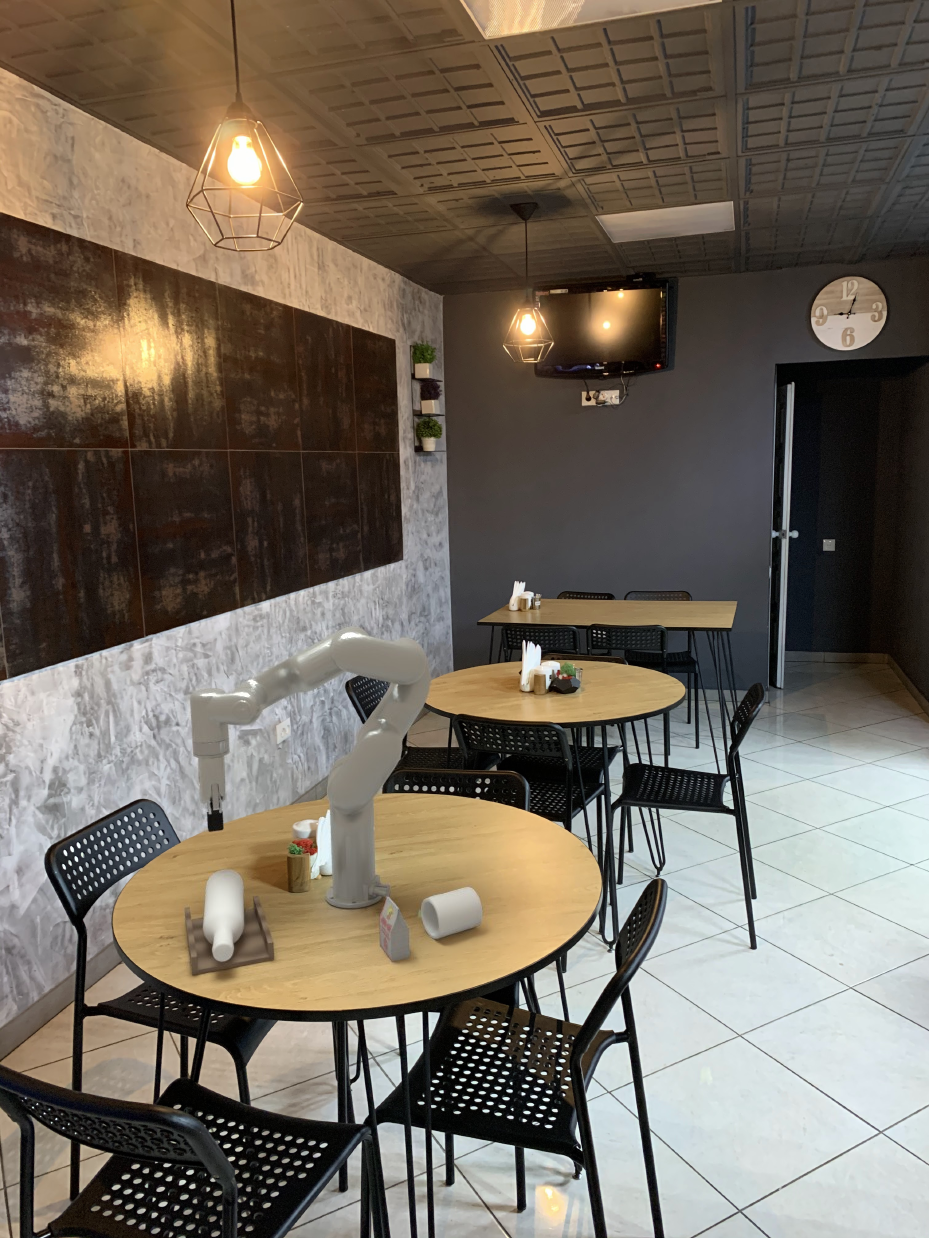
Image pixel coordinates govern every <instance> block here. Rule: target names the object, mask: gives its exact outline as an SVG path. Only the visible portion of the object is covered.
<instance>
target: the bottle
mask: <svg viewBox="0 0 929 1238" xmlns="http://www.w3.org/2000/svg"><path fill="white" fill-rule="evenodd" d="M244 891H245V887H244V882H243V879H242V877H241V875H240V874H239V873H238V872H236V871H235V870H232V869H229V868H227V869H220V870H217V871H216V872H213V874H211V875H210V876H209V877H208V880H207V882H206V886H205V891H204V894H205V896H204V909H203V917H204V920H203V932H204V936H205V937H206V939H207V940H208V942H209V943H211V944H212V945H213V947H212V953H213V956H214V958H215V959H216V960H217V961H221V962H222V961H227V960H228V959H230V958H231V956H232V955H233V951H234V945H233V944H234V943H235V942H236V941H237V940H238V939H239V938H240V936H241V934H242V933H243V929H244V910H245V900H244V898H245V897H244Z"/></svg>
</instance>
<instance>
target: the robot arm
mask: <svg viewBox="0 0 929 1238" xmlns="http://www.w3.org/2000/svg"><path fill="white" fill-rule="evenodd" d="M346 673H350V674H354V675H358V676H361V677H363V678H364V677H365V678H370V679H373V680H378V681H381V682H382V681H383V682H386V683H390V684H389V687H388V689H387V691H386V692H385V693H384V695H383V697H382V698H381V700H380V702H379V703H378V704H377V706H376V707H375V709H374V710H373V711H372V713H371V715H369V717H368V718H367V720H366V721H365V722H364V723H363V725H362V726H361V727H360V729H359V731H358V732H357V738H356V743H355V745H354V746H353V747H352V749H351V750H350V752H349V754H348V755H344V756H342V757H340V758H338V759H337V760H335V762H334V763H333V764H332V766H331V767H330V770H329V772H328V779H327V788H326V796H327V800H328V801H329V802H328V803H329V818H330V819H329V821H330V824H329V825H330V848H331V849H330V853H331V877H332V881H331V882H332V885H331V886H330V887H329V888H328V889H327V890H326V892H325V899H326V902H327V903H328V904H330V905H331V906H333V907H337V908H341V909H360V908H365V907H369V906H372V905H373V904H377V903H378V902H379V901H380V900H382V898H386V896H387V897H388V896H389V897H390V895H391V884H389V883H382V881H381V875H379V874H376V851H375V850H376V846H375V813H374V812H375V807H374V805H375V804H374V801H375V800H374V799H375V797H376V796H377V794H378V793H379V791H380V790H381V789H382V787H383V785H384V784H385V783H386V781H387V780H388V778H389V777H390V776H391V774H392V773H393V771H394V770H395V768H396V767H397V766H398V763H399V761H400V759H401V756H402V751H403V739H405V736H406V735H407V733H408V732H409V730H410V728H411V727H412V725H413V724H414V722H415V720H416V719H417V717H418V715H420V713H421V711H422V710H423V708H424V705H425V703H426V701H427V699H428V695H429V694H430V689H431V678H432V677H431V666H430V663H429V660H428V656H427V655H426V653H425V651H424V649H423V647H422V646H421V644H419V642H417V641H416V640H415V639H413V638H410V637H406V636H405V637H399V638H396V639H395V640H393V641H392V640H387V639H383V638H379V637H374V636H371V635H369V633H368V632H367V631H365V629H363V628H362V627H359V626H354V625H353V626H352V625H350V626H347V627H344V628H342V629H340V630H337V631H336V632H334V633H333V634H331V635H329V636H327V637H325V638H323V639H322V640H320V641H318V642H316V643H314V644H312V645H311V646H308V647H307V648H305V649H303V650H302V651H299V652H298V653H296V654H294V655H292V656H290V657H288V658H286V659H285V660H283V661H281V662H280V663H279V662H278V664H275V665H273V666H271V667H269V668H267V669H265V670H264V671H262V672H259V673H258V674H257V675H255V676H253V677H251V678H249V679H247V680H246V681H243V682H242V683H240V684H238V686H236V688H235V689H234V690H233V691H230V692H225V690H223V689H221V688H214V687H212V688H211V687H210V688H209V687H208V688H207V687H206V688H199V689H197V690H195V691H192V693H191V694H190V697H189V707H190V723H191V724H190V726H191V738H192V740H191V741H192V756H193V757H194V758H196V759H197V767H198V768H197V769H198V771H197V772H198V791H199V794H198V795H199V798H200V801H201V804H203V805H206V806H207V808H206V809H207V811H206V820H207V821H206V822H207V823H206V824H207V831H208V832H209V833H212V832H220V831H223V830H225V828H224V812H223V807H222V803H223V802H225V801H226V763H225V756H227V755H229V754H230V753H231V752H230V749H231V748H230V735H229V725H232V726H242V727H243V726H249V725H252V724H254V723H256V721H258V720H259V718H260V717H261V715H262V713H263V711H264V710H265V709H268V708H269V707H271V706H273V705H275V704H276V703H278V702H280V701H282V700H284V699H286V698H288V697H290V696H293V695H294V694H297V693H308V692H310V691H311V692H312V691H314V690H316V689H319V688H320V687H322V686H324V685H325V684H327V683H328V682H330V681H332V680H335V679H336V678H338V677H339V676H342V675H343V674H346Z"/></svg>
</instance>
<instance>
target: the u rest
mask: <svg viewBox="0 0 929 1238" xmlns="http://www.w3.org/2000/svg"><path fill="white" fill-rule="evenodd" d="M252 899H253V900H252V901H253V908H249V909H244V929H243V933H242V934H241V936H240V938H239V939H238V940H237V941H236V942H235V943H234V944H233V945H234V951H233V955H232V956H231V958H230V959H228V960H227V961H222V962H221V961H217V960H216V959H215V958H214V956H213V953H212V947H213V945H212V944H211V943H209V942H208V940H207V939H206V937H205V936H204V932H203V920H204V916H202V917H196V918H192V915H191V908H190V907H184V922H185V930H186V937H187V945H188V953H189V960H190V967H191V975H192V976H195V975H200V974H206V973H212V972H217V971H221V970H227V969H231V968H238V967H243V966H248V965H254V964H258V963H264V962H267V961H275V947H274V946H275V945H274V944H275V942H274V940H273V937H272V934H271V930H270V927H269V925H268V922H267V919H266V916H265V912H264V909H263V906H262V904H261V901H260V898H259V895H254V896H252Z"/></svg>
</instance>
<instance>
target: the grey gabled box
mask: <svg viewBox="0 0 929 1238" xmlns="http://www.w3.org/2000/svg"><path fill="white" fill-rule="evenodd" d="M378 918H379V919H378V925H379V927H378V928H379V947H380V948H381V949H382V951H383V952H384V954H385V955H386V956H387V958H388V960H389V961H390V962H397V961H400V960H405V959H409V958H411V956H410V955H411V952H410V948H411V947H410V946H411V945H410V927H409V926H408V924H407V922H406V921H405V919H404V917H403V915H402V912H401V909H400V907H399V906H397V904H396V903H395V901H393V900H392V899H391V897H390V895H389V896H388V897H387V896H386V897H385V901H384V904H383V907H382V909H381V912H380V914H379V917H378Z"/></svg>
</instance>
